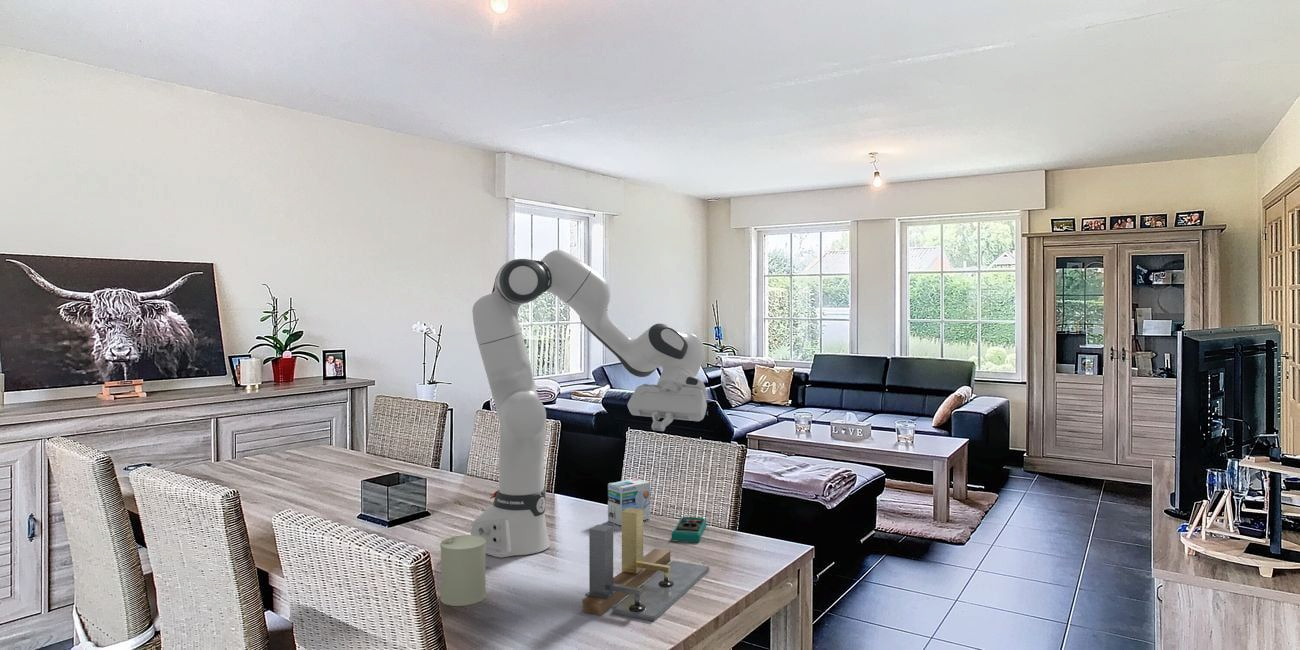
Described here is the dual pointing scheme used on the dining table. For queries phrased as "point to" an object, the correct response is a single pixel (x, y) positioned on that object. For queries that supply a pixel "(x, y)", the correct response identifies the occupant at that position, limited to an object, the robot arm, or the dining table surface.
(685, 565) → the hole plate
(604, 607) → the rail
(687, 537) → the digital multimeter
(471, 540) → the can
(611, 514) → the light bulb box
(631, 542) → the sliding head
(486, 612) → the dining table surface
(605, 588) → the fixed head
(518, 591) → the dining table surface
